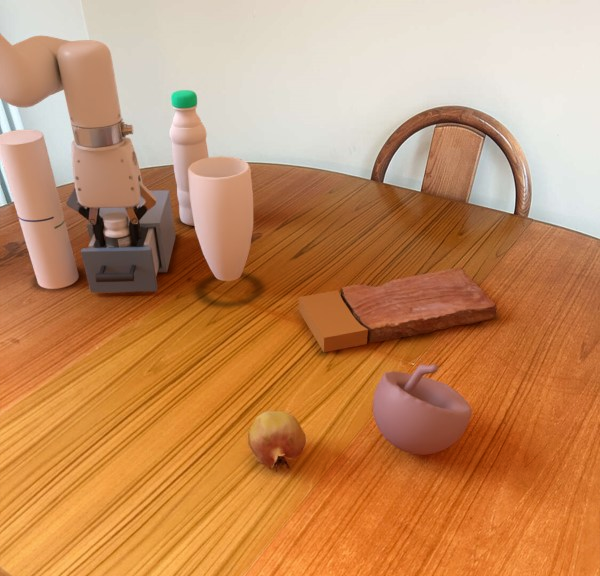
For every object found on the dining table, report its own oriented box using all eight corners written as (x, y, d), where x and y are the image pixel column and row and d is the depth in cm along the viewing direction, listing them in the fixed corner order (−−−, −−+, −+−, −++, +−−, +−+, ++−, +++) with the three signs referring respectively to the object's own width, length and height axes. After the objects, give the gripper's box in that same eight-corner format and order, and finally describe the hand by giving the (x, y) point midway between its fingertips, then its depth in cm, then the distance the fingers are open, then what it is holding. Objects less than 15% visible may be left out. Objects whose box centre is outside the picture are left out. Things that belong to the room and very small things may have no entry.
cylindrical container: (31, 277, 119) (-12, 136, 103) (68, 265, 122) (32, 126, 106) (47, 293, 114) (5, 147, 98) (85, 279, 118) (50, 137, 102)
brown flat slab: (298, 311, 109) (297, 293, 107) (458, 282, 116) (461, 266, 114) (324, 354, 100) (324, 336, 98) (497, 320, 107) (501, 303, 105)
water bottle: (220, 216, 138) (209, 89, 122) (203, 229, 133) (189, 99, 118) (192, 210, 141) (177, 85, 125) (173, 223, 136) (156, 94, 120)
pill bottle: (104, 261, 114) (94, 216, 109) (128, 253, 117) (120, 208, 111) (118, 271, 111) (108, 225, 106) (142, 262, 114) (134, 217, 108)
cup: (257, 304, 111) (250, 179, 97) (196, 305, 111) (180, 180, 97) (260, 274, 119) (254, 154, 105) (203, 275, 119) (189, 155, 105)
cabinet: (167, 272, 120) (159, 223, 114) (97, 274, 120) (86, 224, 113) (175, 236, 131) (169, 190, 125) (112, 238, 131) (102, 191, 125)
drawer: (153, 304, 110) (146, 262, 105) (85, 306, 109) (74, 264, 104) (166, 254, 123) (160, 215, 118) (105, 256, 123) (97, 216, 118)
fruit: (236, 400, 82) (245, 454, 75) (289, 383, 82) (303, 435, 75) (253, 438, 87) (263, 492, 79) (302, 422, 87) (317, 475, 79)
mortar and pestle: (481, 441, 85) (498, 371, 77) (425, 490, 78) (437, 418, 71) (408, 399, 91) (417, 330, 84) (350, 440, 85) (355, 370, 78)
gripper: (158, 124, 103) (172, 232, 115) (49, 126, 103) (74, 234, 114) (151, 140, 97) (167, 252, 109) (36, 142, 97) (64, 254, 109)
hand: (119, 242), depth 112 cm, fingers closed on pill bottle, 4 cm apart
